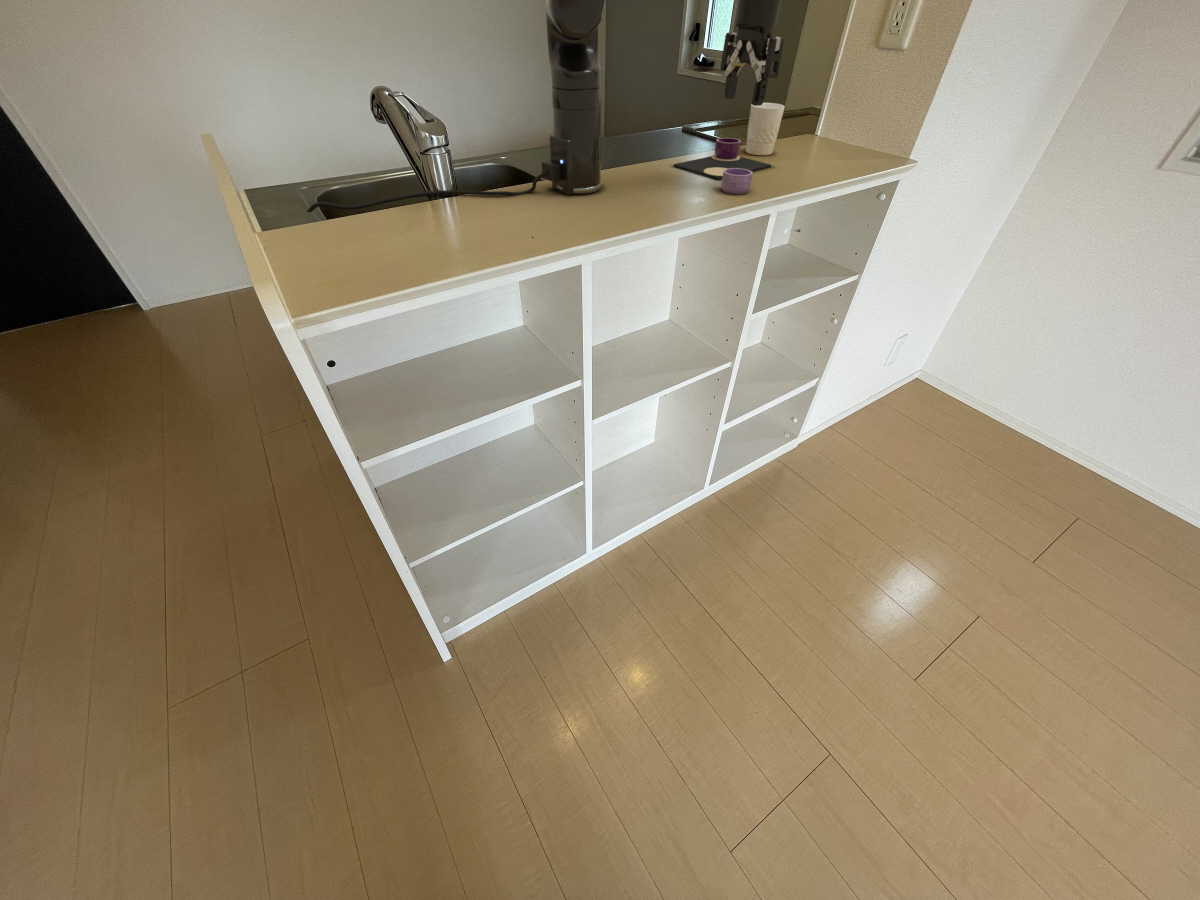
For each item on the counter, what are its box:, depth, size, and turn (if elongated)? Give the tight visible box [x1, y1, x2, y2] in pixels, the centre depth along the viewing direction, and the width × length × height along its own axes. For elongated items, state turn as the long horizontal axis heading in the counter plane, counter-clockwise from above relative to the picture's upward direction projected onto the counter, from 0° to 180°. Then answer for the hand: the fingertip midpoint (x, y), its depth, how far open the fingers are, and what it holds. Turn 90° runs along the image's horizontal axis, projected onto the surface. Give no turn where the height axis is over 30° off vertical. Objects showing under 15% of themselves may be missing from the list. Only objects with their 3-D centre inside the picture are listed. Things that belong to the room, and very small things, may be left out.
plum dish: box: [713, 137, 742, 160], centre depth 121 cm, size 6×6×4 cm
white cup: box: [745, 102, 786, 156], centre depth 125 cm, size 8×8×10 cm
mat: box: [673, 154, 772, 181], centre depth 118 cm, size 18×15×1 cm
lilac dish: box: [720, 168, 754, 195], centre depth 103 cm, size 6×6×4 cm
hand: (742, 101), depth 101 cm, fingers open, 8 cm apart
